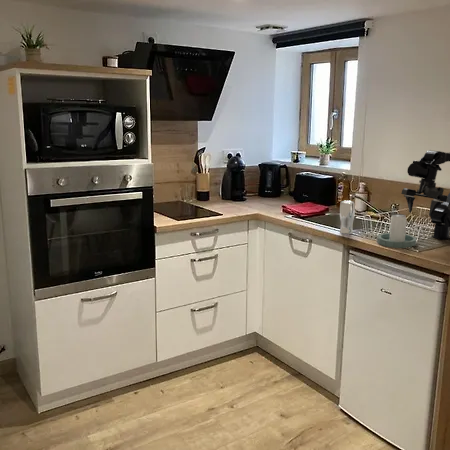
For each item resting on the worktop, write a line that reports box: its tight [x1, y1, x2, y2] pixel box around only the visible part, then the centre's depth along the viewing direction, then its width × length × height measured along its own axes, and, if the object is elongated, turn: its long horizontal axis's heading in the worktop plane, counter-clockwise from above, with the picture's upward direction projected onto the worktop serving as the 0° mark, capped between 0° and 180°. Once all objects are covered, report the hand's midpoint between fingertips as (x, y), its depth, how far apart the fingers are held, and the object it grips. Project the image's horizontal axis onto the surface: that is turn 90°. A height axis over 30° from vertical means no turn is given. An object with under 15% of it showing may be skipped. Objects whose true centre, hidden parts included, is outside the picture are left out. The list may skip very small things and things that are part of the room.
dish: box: [377, 232, 418, 249], centre depth 222 cm, size 16×16×2 cm
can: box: [389, 213, 407, 242], centre depth 221 cm, size 6×6×12 cm
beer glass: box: [339, 200, 356, 235], centre depth 240 cm, size 7×7×15 cm
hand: (420, 214), depth 222 cm, fingers open, 9 cm apart
